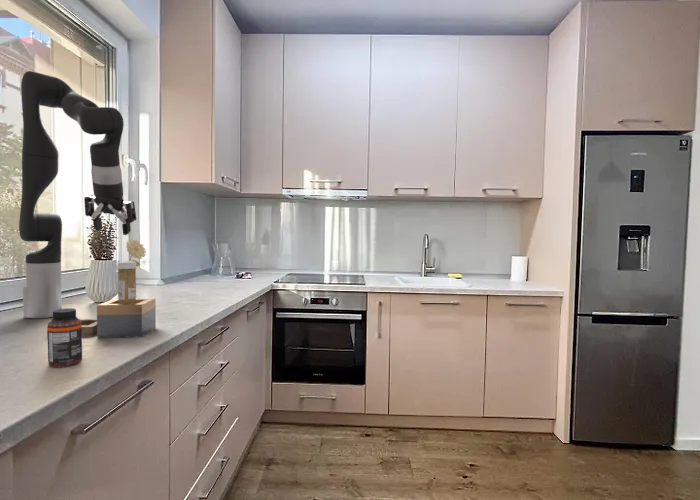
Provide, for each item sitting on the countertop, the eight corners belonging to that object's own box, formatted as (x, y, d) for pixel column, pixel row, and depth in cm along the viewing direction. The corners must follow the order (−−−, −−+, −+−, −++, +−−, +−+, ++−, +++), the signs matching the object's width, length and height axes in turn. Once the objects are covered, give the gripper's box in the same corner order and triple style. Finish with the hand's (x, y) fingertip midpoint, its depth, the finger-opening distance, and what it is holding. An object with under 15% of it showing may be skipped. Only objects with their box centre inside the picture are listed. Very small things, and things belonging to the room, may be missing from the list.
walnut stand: (47, 336, 111) (47, 327, 111) (69, 327, 122) (69, 319, 122) (92, 336, 112) (92, 326, 112) (110, 327, 123) (110, 318, 123)
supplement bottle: (58, 359, 92) (58, 307, 91) (88, 359, 92) (87, 307, 92) (41, 368, 86) (40, 312, 85) (72, 368, 86) (71, 312, 86)
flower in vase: (114, 314, 143) (113, 239, 142) (100, 309, 150) (99, 238, 149) (152, 308, 153) (152, 239, 152) (137, 305, 160) (137, 238, 160)
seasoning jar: (137, 311, 116) (137, 261, 115) (118, 312, 113) (118, 262, 113) (135, 308, 120) (135, 260, 119) (116, 310, 117) (116, 261, 117)
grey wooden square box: (97, 337, 111) (96, 305, 110) (114, 328, 122) (114, 298, 121) (142, 337, 112) (141, 304, 112) (155, 327, 123) (155, 298, 123)
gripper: (138, 180, 126) (142, 231, 132) (92, 173, 127) (97, 224, 133) (123, 186, 119) (128, 240, 126) (74, 179, 120) (81, 232, 126)
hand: (112, 232), depth 129 cm, fingers open, 8 cm apart
